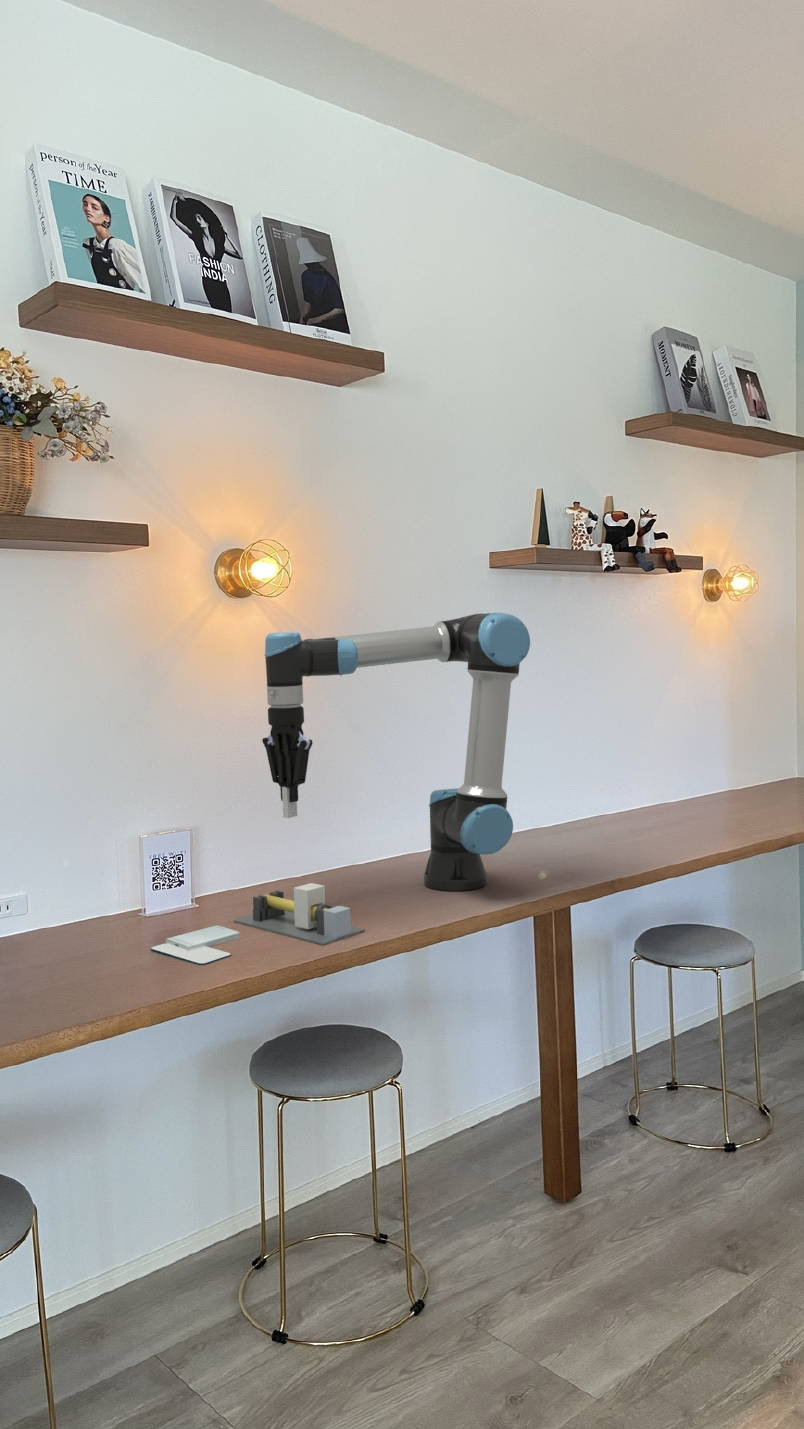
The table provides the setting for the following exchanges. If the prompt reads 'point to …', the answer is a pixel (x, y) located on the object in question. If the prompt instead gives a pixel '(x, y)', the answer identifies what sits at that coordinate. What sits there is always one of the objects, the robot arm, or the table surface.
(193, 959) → the smartphone
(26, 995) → the table surface
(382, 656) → the robot arm
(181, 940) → the hard drive
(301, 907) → the sleeve
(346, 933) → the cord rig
